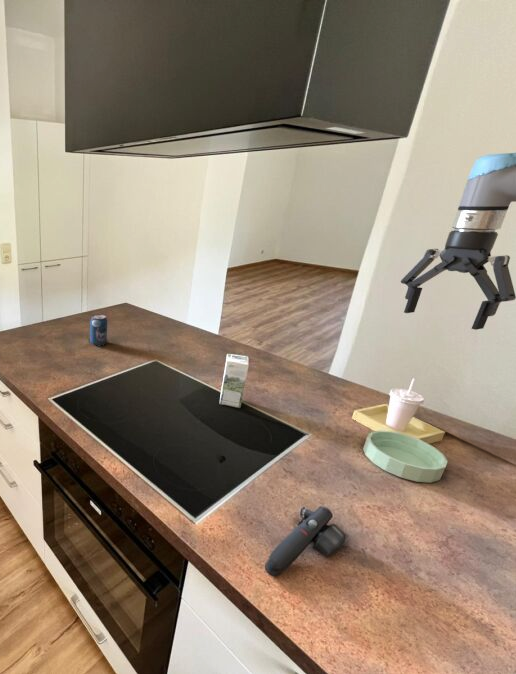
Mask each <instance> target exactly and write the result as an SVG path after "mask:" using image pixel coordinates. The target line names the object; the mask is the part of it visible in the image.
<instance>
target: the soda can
mask: <svg viewBox="0 0 516 674" xmlns="http://www.w3.org/2000/svg"><path fill="white" fill-rule="evenodd" d="M89 323H90V326H89V335H90V336H89V342H90V344H91V345H92V344H93V345H92V346H94V345H98V346H97V347H101V346H100V345H103V346H105V345H106V343H107V342H108V319H107V315H105V314H100V313H99V314H98V313H97V314H93V315H92V316H91V318H90V320H89ZM104 344H105V345H104Z"/></svg>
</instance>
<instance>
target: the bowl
mask: <svg viewBox="0 0 516 674" xmlns="http://www.w3.org/2000/svg"><path fill="white" fill-rule="evenodd" d="M362 450H363V453H364V455H365V456H366V458H367V459H368V460H369V461H370V462H371V463H372V464H373V465H375V466H377V467H378V468H380V469H382V470H383V471H385V472H386V473H387V472H388V473H390V474H392V475H394V476H397V477H399V478H402V479H405V480H409V481H412V482H417V483H435V482H438V481H440V480H441V479H442V476H443V474H444V472H445V470H446V467H447V465H448V462H449V461H448V459H447V458H446V456H445V454H443V453H442V452H441V451H440V450H439V449H437V448H436V447H434V446H433V445H432V444H427V443H426V442H424V441H422V440H420V439H417V438H414V437H411V436H409V435H406V434H402V433H397V432H393V431H381V430H378V431H371V432H369V434H368V435H367V436H366V439H365V442H364V445H363V448H362Z"/></svg>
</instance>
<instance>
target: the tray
mask: <svg viewBox="0 0 516 674" xmlns="http://www.w3.org/2000/svg"><path fill="white" fill-rule="evenodd" d="M388 408H389V403H383V404H378V405H373V406H368V407H363V408H359V409H354V410H353V414H352V416H351V419H352V420H354V421H355V420H356V421H355V422H357V423H359V424H361V425H363V426H365V427H366V428H368V429H370V430H372V432H374V431H378V430H381V431H393V432H397V433H402V434H406V435H409V436H411V437H414V438H417V439H420V440H422V441H424V442H426V443H427V444H429V445H432V444H434V443H438V442H442V440H443V438H444V436H445V433H446V431H444V430H442V429H441V428H438V427H436V426H434V425H432V424H429V423H427V422H425V421H423V420H421V419H419V418H417V417H415V416H413V417H412V419H411V420H410V422H409V424H408V425H407V427H406V428H405V430H404V431H395V430H393V429H391V428H390V427H388V426H386V420H387V414H388Z"/></svg>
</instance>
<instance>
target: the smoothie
mask: <svg viewBox="0 0 516 674" xmlns="http://www.w3.org/2000/svg"><path fill="white" fill-rule="evenodd" d="M416 381H417V379H416V378H415V377H413V378H412V380H411V382H410V385H409V387H408V389H405V388H392V389H391V390H390V392H389V403H388V405H389V408H388V414H387V420H386V426H388V427H390V428H391V429H393V430H395V431H404V430H405V428H406V427H407V425H408V424H409V422H410V420H411V419H412V417H415V414H416V412H417V411H418V409H419V407H420V406H421V405H423V404H424V402H425V398H424V396H422V395H421V394H419V393H417V392H415V391H413V388H414V386H415V383H416Z"/></svg>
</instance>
